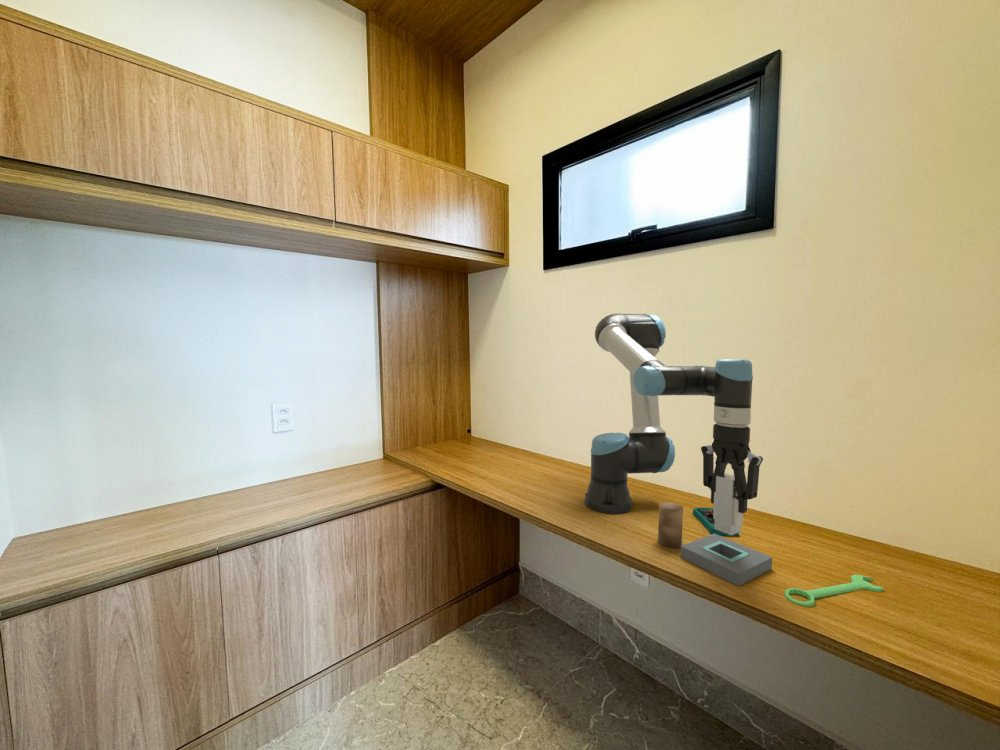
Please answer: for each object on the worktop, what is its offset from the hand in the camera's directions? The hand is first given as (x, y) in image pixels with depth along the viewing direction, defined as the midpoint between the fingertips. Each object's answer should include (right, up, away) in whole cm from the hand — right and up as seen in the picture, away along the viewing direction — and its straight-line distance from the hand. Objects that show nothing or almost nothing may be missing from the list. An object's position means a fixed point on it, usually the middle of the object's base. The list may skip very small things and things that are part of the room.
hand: (727, 521), depth 94 cm
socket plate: (0, -10, +1) cm, 10 cm away
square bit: (0, -2, 0) cm, 2 cm away
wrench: (+17, -12, -10) cm, 23 cm away
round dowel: (-9, -10, +11) cm, 17 cm away
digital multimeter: (+9, -10, +22) cm, 26 cm away
